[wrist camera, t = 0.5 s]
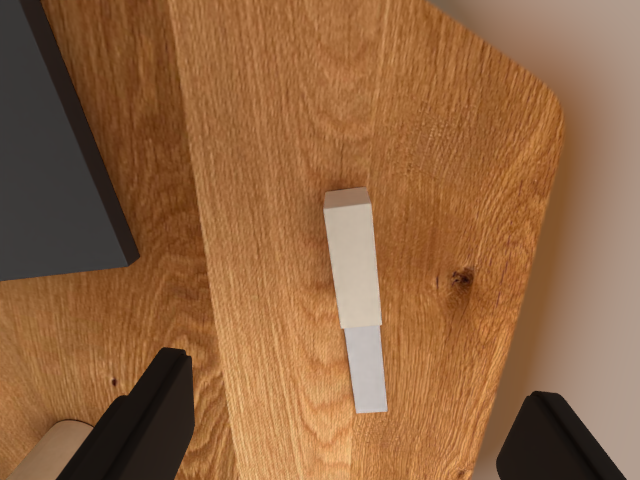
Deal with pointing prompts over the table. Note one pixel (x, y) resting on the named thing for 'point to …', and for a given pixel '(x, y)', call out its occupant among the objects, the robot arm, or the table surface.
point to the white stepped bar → (357, 292)
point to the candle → (52, 452)
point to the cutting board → (50, 162)
